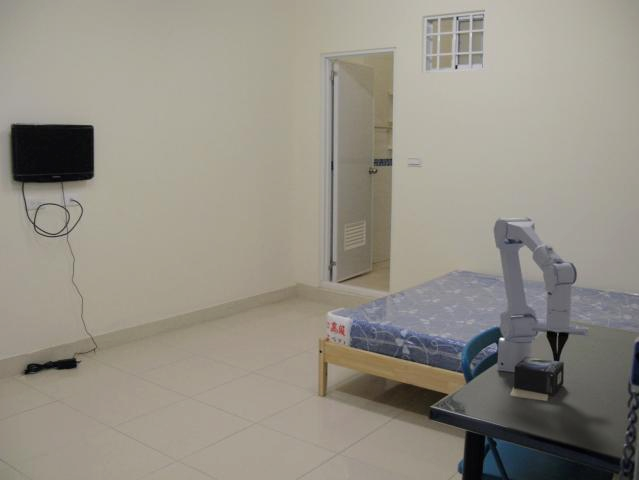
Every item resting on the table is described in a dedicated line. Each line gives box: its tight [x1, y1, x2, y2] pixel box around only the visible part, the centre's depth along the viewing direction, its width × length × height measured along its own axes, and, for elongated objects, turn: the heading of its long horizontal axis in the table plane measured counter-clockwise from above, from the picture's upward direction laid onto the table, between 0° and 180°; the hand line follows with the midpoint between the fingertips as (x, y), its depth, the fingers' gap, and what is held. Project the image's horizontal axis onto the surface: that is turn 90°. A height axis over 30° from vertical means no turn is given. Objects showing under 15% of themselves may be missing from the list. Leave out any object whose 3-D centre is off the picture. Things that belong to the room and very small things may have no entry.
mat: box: [509, 386, 549, 402], centre depth 170 cm, size 9×14×1 cm, turn 157°
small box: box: [513, 357, 565, 396], centre depth 171 cm, size 11×6×10 cm
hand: (556, 360), depth 167 cm, fingers closed
